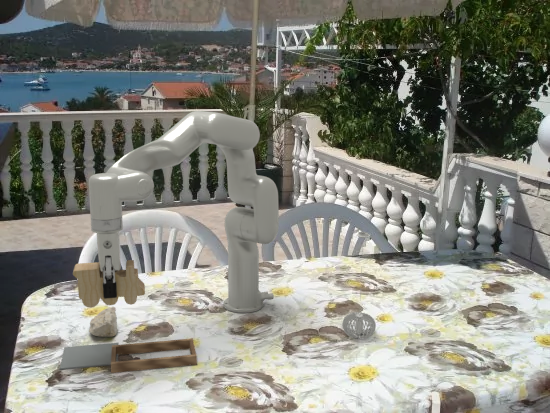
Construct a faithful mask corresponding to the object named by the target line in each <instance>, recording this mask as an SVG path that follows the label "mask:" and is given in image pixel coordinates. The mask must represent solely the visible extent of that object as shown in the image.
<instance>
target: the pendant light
mask: <svg viewBox="0 0 550 413" xmlns="http://www.w3.org/2000/svg"><path fill="white" fill-rule="evenodd" d="M356 236H357V237H358V238H360V239H367V238H370V236H371V234H369V232H368V231H358V233H356ZM361 248H362V249H361V250H362V251H361V255H363V253H364V252H363V251H364V249H363V248H364V245H362V247H361ZM360 269H361V272H360V278H362V271H363V267H361V268H360ZM361 290H362V289H360V294H359V297H360V298H359V300H361V297H362V296H361V294H362V291H361ZM376 326H377V325H376V321H375V320H374V318H373V317H372V316H371V315H370V314H368V313H365V312H361V311H359V312H351V313H348V314H347V315H346V316H345V317H344V318H343V320H342V330H343V332H344V333H345V334H346V335H347V336H348V337H350V338H352V339H361V340H363V339H364V340H365V339H369V338H371V336H373V334H374V333H375V331H376ZM365 328H366V329H365ZM357 334H359V335H357ZM361 334H362V335H361Z"/></svg>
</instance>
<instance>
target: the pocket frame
mask: <svg viewBox="0 0 550 413" xmlns="http://www.w3.org/2000/svg"><path fill="white" fill-rule="evenodd" d="M187 349H189V353H190V354H184V355H183V354H182V355H174V356H163V357H162V356H161V357H151V358H143V359H142V358H139V359H129V360H118V362H116V354H118V356H121V355H124V356H125V355H132V354H144V353H154V352H155V353H156V352H166V351H167V352H168V351H176V350H177V351H178V350H187ZM197 357H198V355H197V351H196V347H195V343H194V339H193V338H191V337H190V338H181V339H172V340H171V339H170V340H169V339H168V340H158V341H147V342H145V341H144V342H136V343H126V344H119V345H112V354H111V365H110V372H111V374H112V373H113V374H114V373H115V374H116V373H124V372H125V373H127V372H133V371H135V372H136V371H145V370H156V369H165V368H176V367H177V368H178V367H188V366H197V365H198V358H197Z"/></svg>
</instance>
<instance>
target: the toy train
mask: <svg viewBox="0 0 550 413" xmlns="http://www.w3.org/2000/svg"><path fill="white" fill-rule="evenodd" d="M111 270H113V268H111ZM111 274H112V275H113V273H111ZM72 275H73V276H74V277H75V278H76V279H77V290H78V298H79V300H81V302H82V304H83V306H84V307H87V308H89V309H91V308H95V307H96V306H98V305H99V302H100V300H101V301H102V303H104V304H105V305H106V306H114V305H116V304H117V302H118V301H119V298H122V297H123V299H124V302H125V303H126V304H127V305H135V304H136V302H137V300H138V297H141V296H145V294H146V286H145V283H144V282H143V281H142V279H140V277H139V270H138V268H135V262H134V259H132V260H131V259H129V260H128V259H127V260H126V263H125V269H121V270H120V271H118V270H115V282H116V286H117V297H116V298H106V299H105V298H104V296H103V283H104V277H103V272H101V271H100V265H99V261H98V262H84V263H76V264H75V265H74V267H73V272H72Z"/></svg>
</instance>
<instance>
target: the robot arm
mask: <svg viewBox="0 0 550 413" xmlns="http://www.w3.org/2000/svg"><path fill="white" fill-rule="evenodd" d="M260 136H261V134H260V128H259V126H257V124H256V123H255V122H254V121H252V120H250V119H246V118H242V117H237V116H233V115H229V114H225V113H220V112H214V111H203V110H194V111H191V112H189V113H188V114H186V115H185V116H184V117H183V118H181V120H178V121H177V123H176V124H174V125H173V126H172V127H171V128H170V129H169V130H167V131H166V132H165V133H163V135H161V136H159V138H157V139H155V140H153V141H151V142H148V143H146V144H144V145H141V146H139V147H137V148H135V149H134V150H131V151H130V152H127V153H126V154H124V155H123V156H122V157H121V158H119V159H118V160H117V161H116V162H115V163H114V164H112V165H111V166H110V167H109V168H108V169H107V171H106V172H102V173H95V174H92V175H90V177H89V178H88V194H89V197H88V198H89V212H90V227H91V230H90V231H91V232H92V233H95V234H96V243H97V247H96V248H97V256H98V257H97V258H98V262H99V265H100V271H101V272H103V277H104V283H103V296H104V298H105V299H106V298H116V297H117V286H116V282H115V270H118V271H120V270H122V269H121V268H122V267H121V264H122V263H121V243H120V232H122V231H123V229H124V226H123V223H124V222H123V202H141V201H144V200H146V199H148V198H149V197H151V195H152V194H153V192H154V188H155V184H154V181H153V178H152V177H151V175H149V172H153V171H155V170H160V169H166V168H171V167H175V166H178V165H179V164H182V162H183V161H184V160H186V159H187V158H188V157H189V156H190V155H191V154H192V153H193V152H195V151H196V149H198V148H199V147H200V146H201V145H202V144H211V145H216V146H217V147H218V148H219V149H220V150H221V152H222V153H223V155H224V157H225V161H226V172H227V173H226V174H227V179H226V180H227V194H228V197H229V200H231V201H232V202H233V203H236V204H239V205H243V206H244V207H243V206H236V207H233V208H231V209H229V211H228V212H227V213H226V216H225V217H224V230H225V235H226V241H227V261H228V262H227V264H228V265H227V266H228V267H227V276H228V277H227V283H228V285H227V287H228V291H227V292H228V294H227V295H228V296H227V298H225V299H224V301H223V307H224V308H225V310H227V311H230V312H233V313H239V314H241V313H242V314H246V313H254V312H256V311H257V312H258V311H259V310H261V309H262V308H263V307H264V301H265V300H268V301H269V300H275V298H274V296H275V294H274V293H273V292H272V293H269V291H260V289H259V287H260V286H259V282H260V278H259V277H260V276H259V275H260V253H259V246H258V244H260V245H269V244H271V243H273V242H274V240H276V238H277V236H278V233H279V227H280V220H279V219H280V218H279V217H280V216H279V190H278V187H277V185H276V183H275V182H274V180H273V179H271V178H270V177H267V176H264V175H258V174H257V170H256V161H255V160H256V158H255V153H254V151H253V149H254V148H255V147H257V145H258V143H259V141H260ZM147 173H148V174H147ZM249 207H250V208H249ZM251 207H252V208H251ZM111 268H113V270H111ZM111 273H113V275H112V274H111Z"/></svg>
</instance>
